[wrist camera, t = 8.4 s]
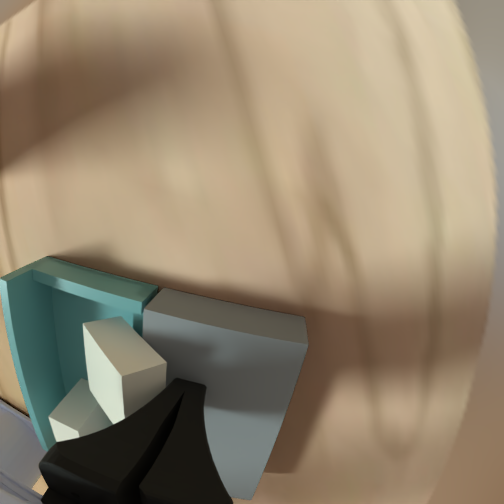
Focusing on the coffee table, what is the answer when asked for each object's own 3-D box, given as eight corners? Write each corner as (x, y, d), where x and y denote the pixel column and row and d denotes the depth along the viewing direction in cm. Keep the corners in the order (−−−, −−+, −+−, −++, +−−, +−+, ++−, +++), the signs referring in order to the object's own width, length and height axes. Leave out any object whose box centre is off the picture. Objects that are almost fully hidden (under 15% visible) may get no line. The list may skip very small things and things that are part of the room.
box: (68, 415, 18) (42, 448, 14) (47, 256, 15) (-2, 278, 11) (153, 448, 18) (135, 491, 14) (158, 286, 15) (121, 323, 11)
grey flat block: (158, 450, 18) (147, 476, 15) (164, 287, 15) (143, 308, 12) (254, 472, 18) (250, 500, 15) (304, 317, 14) (308, 344, 12)
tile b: (122, 379, 15) (89, 389, 13) (121, 315, 14) (82, 323, 12) (164, 428, 12) (127, 443, 11) (166, 362, 11) (121, 376, 10)
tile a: (113, 430, 17) (88, 419, 17) (108, 388, 16) (81, 378, 16) (89, 470, 13) (62, 457, 13) (78, 431, 12) (48, 416, 12)
